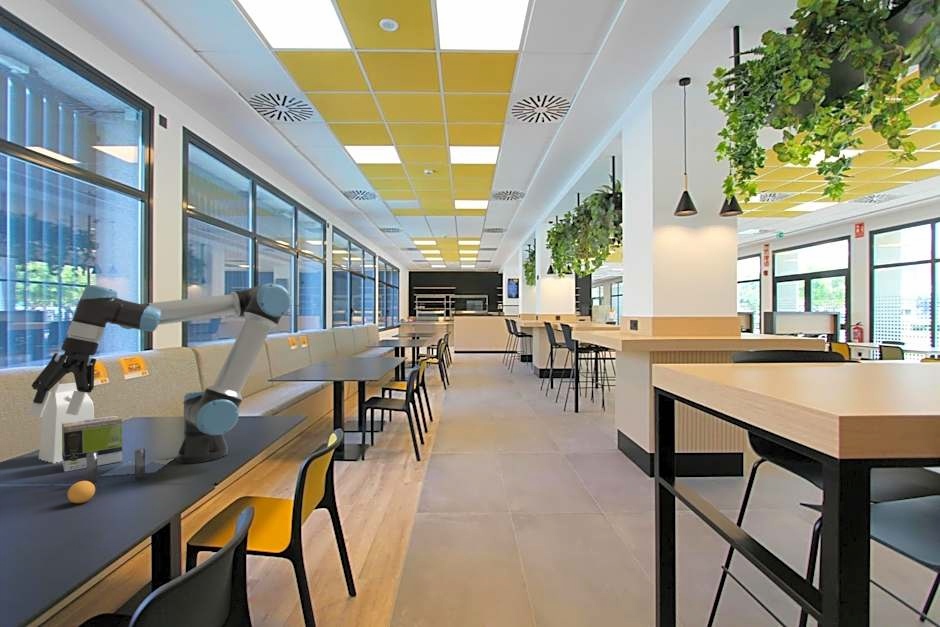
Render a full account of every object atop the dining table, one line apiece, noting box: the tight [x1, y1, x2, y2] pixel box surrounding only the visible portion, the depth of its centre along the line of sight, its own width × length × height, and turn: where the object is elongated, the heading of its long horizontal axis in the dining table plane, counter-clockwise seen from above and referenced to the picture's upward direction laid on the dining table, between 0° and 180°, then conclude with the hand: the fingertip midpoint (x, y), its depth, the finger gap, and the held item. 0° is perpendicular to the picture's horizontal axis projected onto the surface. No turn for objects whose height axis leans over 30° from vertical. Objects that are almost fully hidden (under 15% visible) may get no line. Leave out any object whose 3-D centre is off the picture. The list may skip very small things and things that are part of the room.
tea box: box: [61, 415, 123, 472], centre depth 152 cm, size 15×10×15 cm, turn 134°
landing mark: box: [100, 460, 168, 477], centre depth 148 cm, size 15×15×1 cm
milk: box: [38, 382, 95, 464], centre depth 161 cm, size 12×12×26 cm
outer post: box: [85, 451, 99, 485], centre depth 133 cm, size 2×2×9 cm
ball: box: [67, 480, 96, 504], centre depth 118 cm, size 6×6×6 cm
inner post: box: [134, 448, 146, 482], centre depth 135 cm, size 2×2×9 cm
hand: (54, 415), depth 123 cm, fingers open, 13 cm apart
